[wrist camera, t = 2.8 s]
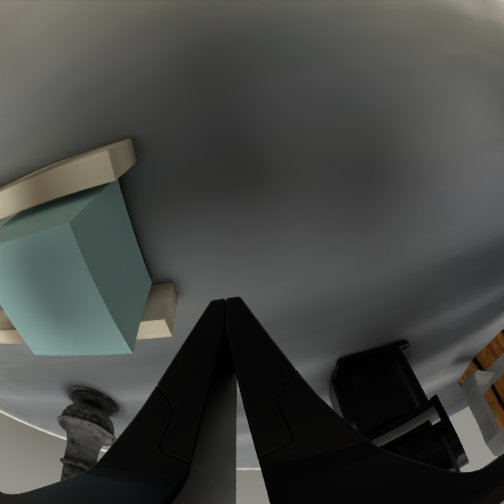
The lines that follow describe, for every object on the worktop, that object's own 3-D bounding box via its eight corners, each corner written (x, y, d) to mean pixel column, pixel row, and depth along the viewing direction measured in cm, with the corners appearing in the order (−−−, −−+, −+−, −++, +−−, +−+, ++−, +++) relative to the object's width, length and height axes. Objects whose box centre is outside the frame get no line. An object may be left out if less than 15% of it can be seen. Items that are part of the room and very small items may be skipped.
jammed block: (117, 177, 12) (69, 222, 8) (151, 282, 15) (132, 353, 11) (27, 206, 12) (-28, 252, 8) (66, 295, 15) (34, 355, 11)
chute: (131, 137, 12) (107, 150, 9) (177, 298, 16) (171, 336, 14) (-68, 227, 11) (-89, 245, 9) (-22, 318, 16) (-36, 341, 13)
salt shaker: (133, 411, 23) (122, 524, 13) (98, 419, 24) (83, 516, 14) (87, 379, 20) (58, 504, 10) (56, 390, 21) (29, 493, 11)
